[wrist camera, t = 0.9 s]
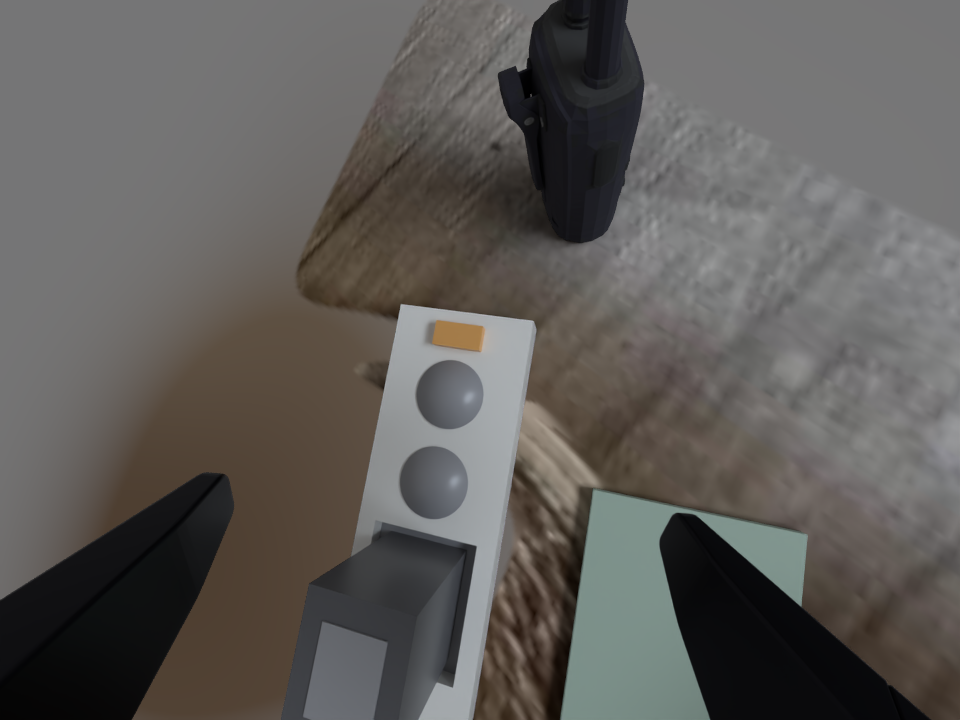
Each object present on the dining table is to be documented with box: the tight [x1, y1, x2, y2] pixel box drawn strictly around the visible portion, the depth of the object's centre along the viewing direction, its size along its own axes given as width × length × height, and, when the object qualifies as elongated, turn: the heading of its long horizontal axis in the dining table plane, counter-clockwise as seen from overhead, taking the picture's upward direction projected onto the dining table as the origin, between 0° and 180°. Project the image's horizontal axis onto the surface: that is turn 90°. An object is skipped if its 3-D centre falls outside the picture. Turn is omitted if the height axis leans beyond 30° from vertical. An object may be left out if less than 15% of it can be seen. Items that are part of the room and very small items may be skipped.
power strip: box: [351, 304, 536, 720], centre depth 21 cm, size 20×7×3 cm, turn 170°
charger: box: [281, 531, 467, 720], centre depth 17 cm, size 5×4×7 cm
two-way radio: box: [498, 0, 644, 243], centre depth 15 cm, size 6×4×15 cm
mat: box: [560, 488, 807, 720], centre depth 19 cm, size 11×9×1 cm
